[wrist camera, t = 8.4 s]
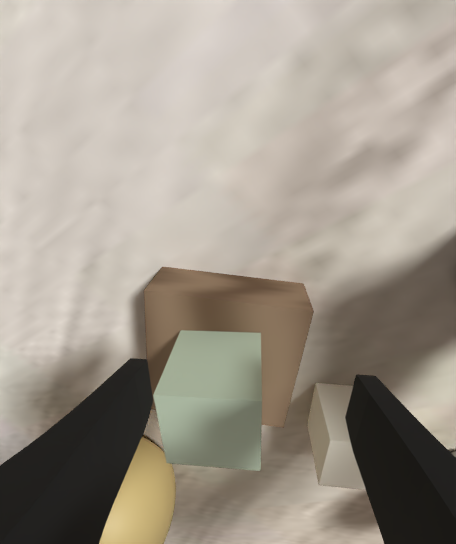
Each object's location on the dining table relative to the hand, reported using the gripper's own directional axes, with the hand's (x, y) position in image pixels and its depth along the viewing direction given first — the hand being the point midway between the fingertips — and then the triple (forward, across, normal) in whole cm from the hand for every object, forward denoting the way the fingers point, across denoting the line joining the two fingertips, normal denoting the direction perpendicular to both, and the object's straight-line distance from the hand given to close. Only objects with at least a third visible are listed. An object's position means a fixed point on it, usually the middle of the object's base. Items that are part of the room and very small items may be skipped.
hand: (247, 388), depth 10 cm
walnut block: (+11, +2, +6) cm, 12 cm away
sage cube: (+7, +2, +5) cm, 9 cm away
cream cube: (+10, -8, +12) cm, 18 cm away
